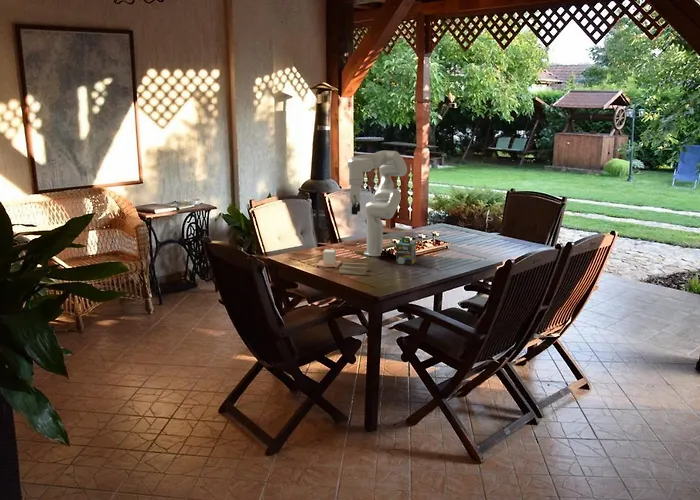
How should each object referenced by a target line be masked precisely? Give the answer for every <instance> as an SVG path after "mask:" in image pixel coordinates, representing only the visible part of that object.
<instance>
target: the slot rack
mask: <svg viewBox="0 0 700 500" xmlns="http://www.w3.org/2000/svg"><path fill="white" fill-rule="evenodd" d="M338 268H339V269H338V271H339V273H341V274H342V275H360V276H361V275H364V276H365V275H367V271H369V263H361V262H360V263H356V262H341V266H339V267H338ZM339 273H338V274H339Z"/></svg>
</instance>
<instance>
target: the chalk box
mask: <svg viewBox="0 0 700 500" xmlns="http://www.w3.org/2000/svg"><path fill="white" fill-rule="evenodd" d="M406 240H407V241H406ZM416 244H417V242H416V241H411V238H410V237H404V236H403V237H401V240H400V241H399V242H398V243H397V244H396V247H395V248H396V258H395V259H396V265H404V266H405V265H407V266H412V265H413V264H415V263H416V262H417V258H416V257H417V250H416V249H417V247H416V246H417V245H416Z"/></svg>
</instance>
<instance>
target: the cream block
mask: <svg viewBox="0 0 700 500" xmlns="http://www.w3.org/2000/svg"><path fill="white" fill-rule="evenodd" d="M336 251H337V250H336V249H327V248H325V249H323V252H322V255H323V256H322V260H323V264H333V265H334V264H335V262H336V261H337V260H336V257H337V256H336V253H337V252H336Z"/></svg>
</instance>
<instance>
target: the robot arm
mask: <svg viewBox="0 0 700 500" xmlns="http://www.w3.org/2000/svg"><path fill="white" fill-rule="evenodd" d="M406 163H407V162H405V160H404V158H403V157H402V155H401V153H399V152H398V151H396V150H380V151H377V152H373V153H367V154H359V155H355V156H352V157H350V158H349V159H348V161H347V168H348V174H349V175H348V185H349V186H350V191H349V203H350V204H351V215H354V216H355V215H358V212H361V199H362V186H364V181H363V180H364V173H367V172H371V171H372V170H373V169H377V168H379V169H378V170H379V179H380V183H379V184H378V186H377V189H376V190H375V192H374V195H373V200H370V201H368V202H367V203H366V204H365V206H364V207H365V208H364V210H365V211H364V212H365V217H366V250H364V251H363V255H365V256H368V257H369V256H370V257H381V253H382V251H384V250H383V245H384V244H383V241H384V240H383V237H384V233H383V232H384V224H383V221H382V219H389V220H390V219H392V218H393V217H394V215H395V213H396V211H397V208H398V207H399V205H400V203H401V198H402V194H401V191H400V190H399V189H397V188H394V187H395V186H394V184H395V183H394V181H393V179H392V178H391V177H404V176H405V175H406V174H407V173H408V167H407V164H406Z"/></svg>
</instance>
